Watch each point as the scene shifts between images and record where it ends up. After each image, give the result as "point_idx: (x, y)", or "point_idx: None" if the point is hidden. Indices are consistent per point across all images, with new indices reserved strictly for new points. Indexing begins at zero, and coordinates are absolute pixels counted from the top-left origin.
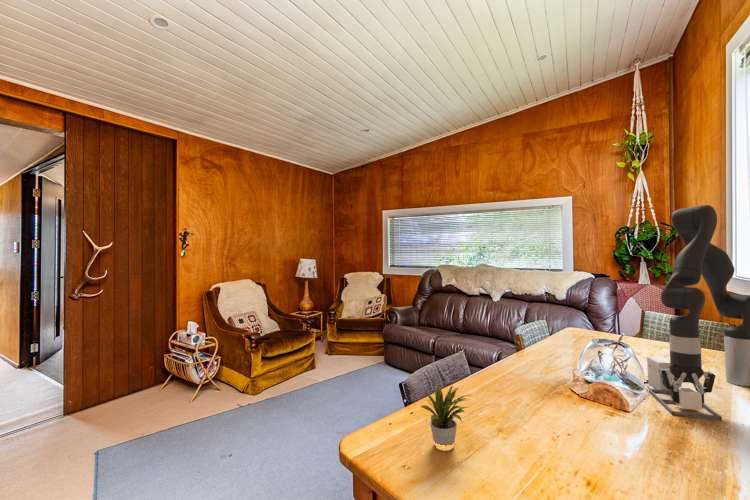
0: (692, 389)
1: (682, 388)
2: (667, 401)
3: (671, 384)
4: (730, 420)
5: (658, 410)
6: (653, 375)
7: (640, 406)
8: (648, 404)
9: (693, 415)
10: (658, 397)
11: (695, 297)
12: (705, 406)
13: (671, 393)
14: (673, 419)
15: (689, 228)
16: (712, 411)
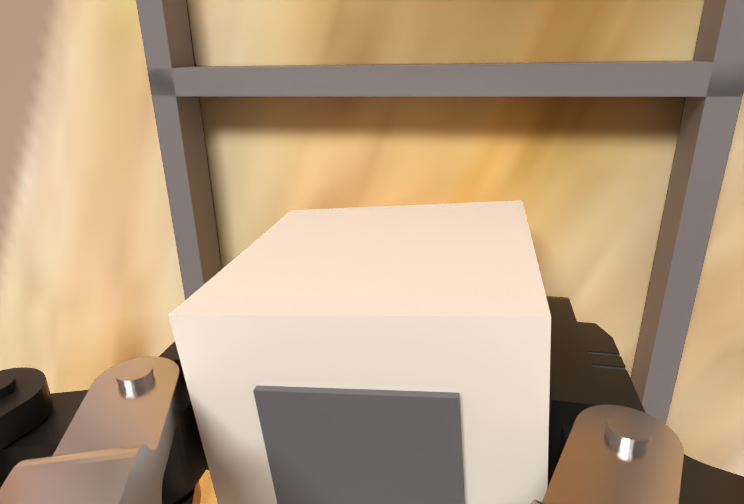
0: (491, 437)
1: (297, 435)
2: (259, 91)
3: (79, 434)
4: (732, 470)
5: (137, 344)
6: None
7: (4, 279)
8: (68, 204)
9: None
10: (157, 21)
11: None
12: (678, 214)
13: (177, 351)
14: (214, 499)
15: None
16: (645, 384)
